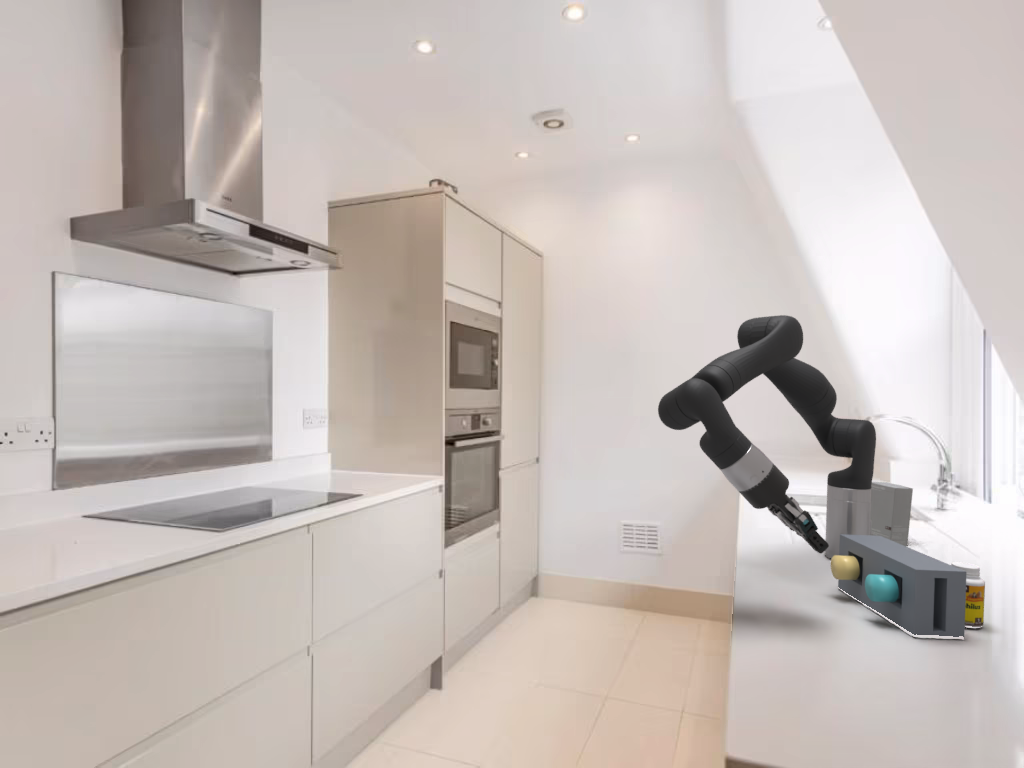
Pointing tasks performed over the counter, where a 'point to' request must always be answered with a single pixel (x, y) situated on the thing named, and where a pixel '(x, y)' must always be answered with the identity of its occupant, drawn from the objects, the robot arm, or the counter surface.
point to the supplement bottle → (973, 594)
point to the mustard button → (845, 567)
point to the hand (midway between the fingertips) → (823, 548)
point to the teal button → (881, 588)
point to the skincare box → (891, 511)
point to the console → (909, 585)
